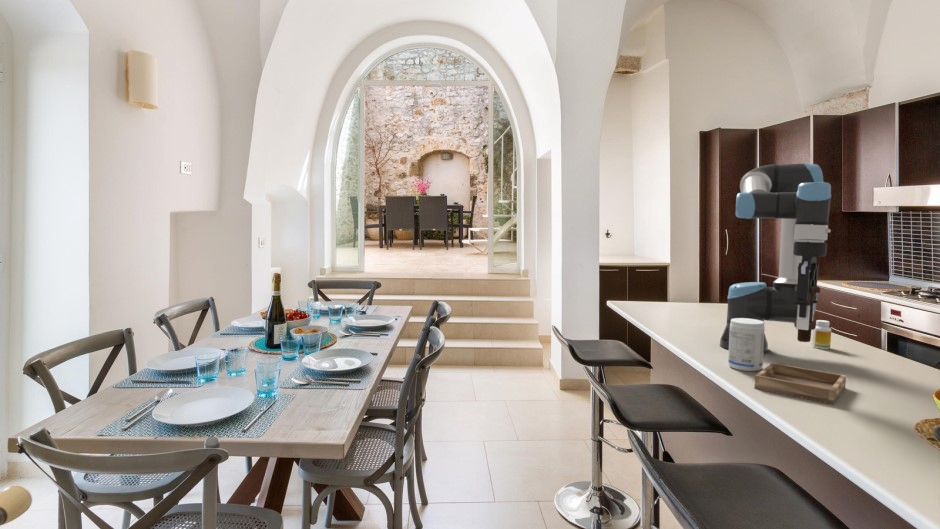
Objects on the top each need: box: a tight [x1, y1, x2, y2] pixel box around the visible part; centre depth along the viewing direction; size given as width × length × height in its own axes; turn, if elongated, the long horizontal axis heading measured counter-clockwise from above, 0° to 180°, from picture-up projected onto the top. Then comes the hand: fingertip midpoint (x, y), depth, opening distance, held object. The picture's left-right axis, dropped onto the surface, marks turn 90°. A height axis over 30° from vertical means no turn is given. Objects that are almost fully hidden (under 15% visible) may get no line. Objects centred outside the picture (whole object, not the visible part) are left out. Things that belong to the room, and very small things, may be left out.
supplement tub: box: [727, 318, 765, 372], centre depth 166 cm, size 10×10×15 cm
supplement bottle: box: [811, 319, 832, 350], centre depth 193 cm, size 5×5×10 cm
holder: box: [753, 362, 847, 405], centre depth 147 cm, size 18×18×4 cm
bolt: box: [793, 285, 821, 343], centre depth 145 cm, size 6×5×15 cm
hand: (804, 327), depth 145 cm, fingers closed on bolt, 4 cm apart
